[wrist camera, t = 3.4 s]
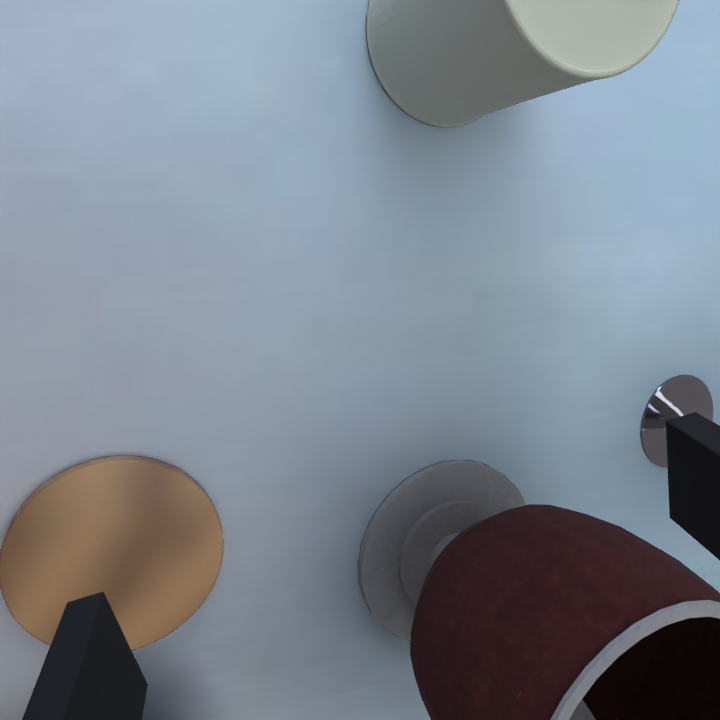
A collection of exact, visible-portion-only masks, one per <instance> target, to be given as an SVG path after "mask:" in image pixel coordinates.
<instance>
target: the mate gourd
mask: <svg viewBox="0 0 720 720" xmlns="http://www.w3.org/2000/svg"><path fill="white" fill-rule="evenodd" d="M358 569H359V583H360V587H361V592H362V596H363V598H364V600H365V602H366V604H367V606H368V608H369V610H370V611H371V613H372V614H373V616H374V617H375V618H376V619H377V620H378V622H379V623H380V624H381V625H382V626H383V627H384V628H385V629H387V630H388V631H389V632H391V633H392V634H394V635H395V636H397V637H400V638H402V639H405V640H408V641H411V647H410V656H411V660H412V665H413V670H414V675H415V678H416V681H417V685H418V688H419V691H420V695H421V698H422V700H423V702H424V705H425V707H426V709H427V711H428V714H429V716H430V718H431V720H720V593H719V592H718V591H717V590H715V589H714V588H713V587H712V586H710V585H709V584H708V583H707V582H705V581H704V580H703V579H701V578H700V577H699V576H698V575H696V574H695V573H694V572H693V571H691V570H690V569H689V568H687V567H686V566H685V565H684V564H682V563H681V562H680V561H679V560H677V559H675V558H674V557H672V556H670V555H669V554H667V553H665V552H664V551H662V550H660V549H658V548H657V547H655V546H653V545H651V544H650V543H648V542H646V541H644V540H643V539H641V538H639V537H637V536H636V535H634V534H632V533H630V532H629V531H627V530H625V529H623V528H622V527H620V526H617V525H614V524H611V523H609V522H606V521H603V520H601V519H598V518H595V517H592V516H590V515H587V514H583V513H580V512H576V511H572V510H568V509H564V508H560V507H555V506H551V505H525V502H524V499H523V497H522V496H521V494H520V492H519V491H518V489H517V488H516V486H515V485H514V484H513V483H512V482H511V481H510V480H509V479H508V478H507V477H506V476H505V475H503V474H501V473H500V472H498V471H496V470H495V469H493V468H491V467H489V466H488V465H485V464H482V463H478V462H475V461H469V460H452V461H446V462H440V463H437V464H434V465H432V466H429V467H426V468H424V469H422V470H420V471H418V472H417V473H415V474H413V475H412V476H410V477H408V478H407V479H405V480H404V481H403V482H402V483H401V484H400V485H398V486H397V487H396V488H395V489H394V490H393V491H392V492H391V493H390V494H389V495H388V496H387V497H386V499H385V500H384V501H383V502H382V504H381V505H380V506H379V507H378V509H377V511H376V512H375V514H374V516H373V518H372V519H371V521H370V523H369V525H368V527H367V530H366V533H365V535H364V538H363V541H362V544H361V549H360V555H359V560H358Z"/></svg>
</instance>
